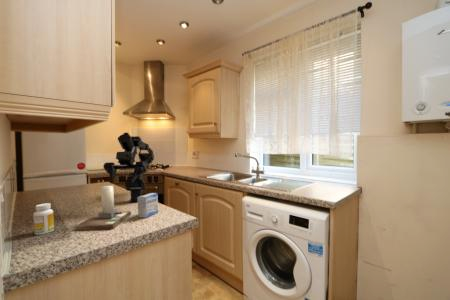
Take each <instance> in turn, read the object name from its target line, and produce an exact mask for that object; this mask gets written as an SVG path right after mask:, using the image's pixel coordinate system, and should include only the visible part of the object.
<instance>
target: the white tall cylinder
mask: <svg viewBox="0 0 450 300" xmlns="http://www.w3.org/2000/svg"><path fill="white" fill-rule="evenodd" d="M114 188H115V187H114V185H103V186H101V187H100V194H101V196H100V197H101V211H100V212H98V213H97V214H98V215H99V218H112V217H114V216H115V215H117V214H122V212H123V211H118V209H117V208H116V209H115V198H114V197H115V193H114V192H115V191H114ZM117 212H119V213H117Z"/></svg>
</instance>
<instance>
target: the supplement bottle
mask: <svg viewBox="0 0 450 300" xmlns="http://www.w3.org/2000/svg"><path fill="white" fill-rule="evenodd" d="M51 206H52V205H51V203H50V202H45V203H41V204H37V205H35V210H36V211H35V212H33V229H34V230H33V232H34V235H46V234H48V233H51V232H53V231H54V229H55V222H54V221H55V218H54V210H53V209H51Z"/></svg>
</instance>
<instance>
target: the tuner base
mask: <svg viewBox="0 0 450 300" xmlns="http://www.w3.org/2000/svg"><path fill="white" fill-rule="evenodd" d="M119 212H120V211H117V213H119ZM121 212H122V214H117V215H115V216H114V217H112V218H99V215H98V213H97V214H94V215H93V216H91V217H90V218H88V219H86V220H85V221H83V222H81V223H79V224H77V225H75V231H97V230H98V231H99V230H102V231H103V230H113V229H115V228H116V227H117V226H118V225H120V224H121V223H122V222H124V221H125V220H126V219H127V218H129V217H130V216H132V214H131V213H132V212H131V211H130V210H128V211H125V210H124V211H121Z"/></svg>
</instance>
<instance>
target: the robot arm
mask: <svg viewBox="0 0 450 300" xmlns="http://www.w3.org/2000/svg"><path fill="white" fill-rule="evenodd" d="M117 141H118V143H119V145H120V147H121V149H122V150H124V151H117V152H116V154H115V155H116V156H115V159H116V160H118V161H117V162H118V164H115V163H114V162H113V161H111V162H104V164H103V165H102V167H103V169H104V171H105V172H106V173H107V174H108V175H109V181H110V182H109V183H110V184H113V183H114V181H115V178H116V176H117V171H118V170H133V172H129V173H128V175H127V177H126V179H125V182H124V183H125V188H126V189H125V190H126V191H127V192H128V191H129V193H130V199H129V202H130V203H138V199H137V197H140V196H143V192H142V191H143V190H146V182H145V181H144V179H143V178H144V177H143V176H144V174H145V173H147V171H148V165H150V164H152V163H153V162H154V160H155V155H154V151H153V149H152V148H150V145H149V144H148V143H146V142H145V141H143V140H142V138H141V137H140V136H138V135H137V136H136V135H135V136H131V135H130V134H129V132H124V133H122V134H120V135H119V136H118V137H117ZM138 150H139V152H138ZM141 151H147V152H141ZM136 155H138V159H139V161H136ZM134 163H135V164H134Z"/></svg>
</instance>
